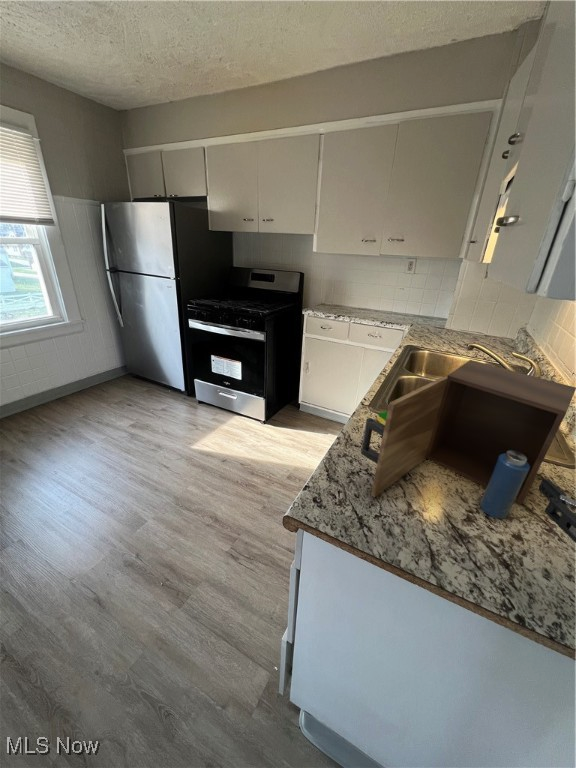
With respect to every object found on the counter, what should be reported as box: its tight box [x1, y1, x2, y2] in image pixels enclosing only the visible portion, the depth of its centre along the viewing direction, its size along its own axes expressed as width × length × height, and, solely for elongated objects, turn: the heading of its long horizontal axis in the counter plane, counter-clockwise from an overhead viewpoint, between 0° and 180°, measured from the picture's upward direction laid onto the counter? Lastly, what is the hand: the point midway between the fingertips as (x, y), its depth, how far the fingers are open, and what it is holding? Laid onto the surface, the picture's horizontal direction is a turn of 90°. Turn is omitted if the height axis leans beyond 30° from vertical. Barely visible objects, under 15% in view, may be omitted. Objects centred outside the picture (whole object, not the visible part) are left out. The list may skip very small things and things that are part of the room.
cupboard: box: [425, 359, 576, 506], centre depth 76 cm, size 16×22×24 cm
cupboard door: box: [360, 375, 448, 498], centre depth 73 cm, size 7×22×24 cm, turn 130°
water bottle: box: [479, 450, 530, 520], centre depth 65 cm, size 5×5×14 cm
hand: (568, 484), depth 50 cm, fingers open, 8 cm apart
